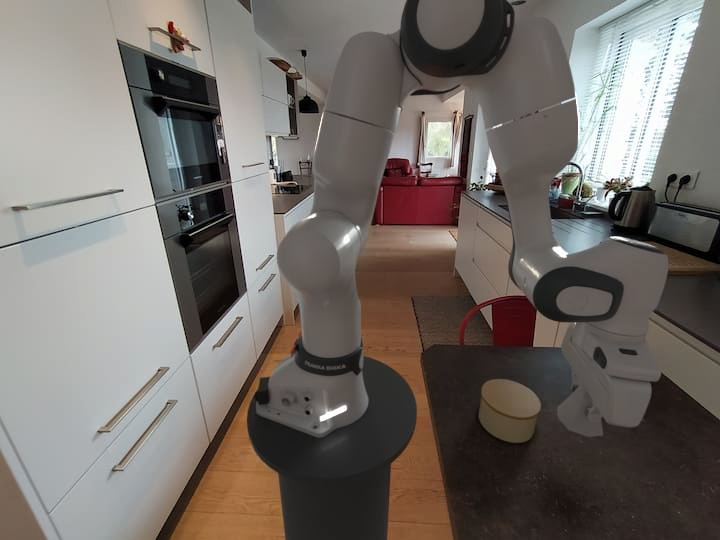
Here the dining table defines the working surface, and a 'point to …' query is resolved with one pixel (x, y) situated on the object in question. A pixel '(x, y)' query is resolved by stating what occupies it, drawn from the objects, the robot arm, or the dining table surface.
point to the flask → (578, 414)
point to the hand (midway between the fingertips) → (584, 405)
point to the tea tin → (508, 410)
